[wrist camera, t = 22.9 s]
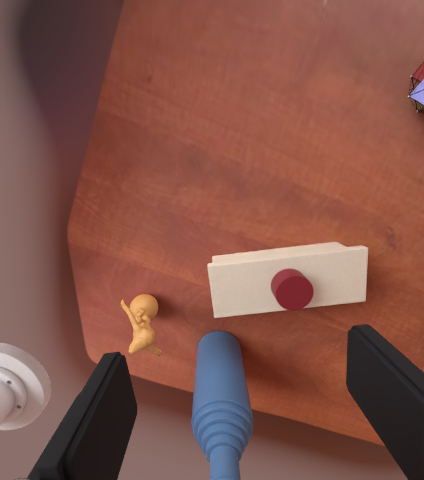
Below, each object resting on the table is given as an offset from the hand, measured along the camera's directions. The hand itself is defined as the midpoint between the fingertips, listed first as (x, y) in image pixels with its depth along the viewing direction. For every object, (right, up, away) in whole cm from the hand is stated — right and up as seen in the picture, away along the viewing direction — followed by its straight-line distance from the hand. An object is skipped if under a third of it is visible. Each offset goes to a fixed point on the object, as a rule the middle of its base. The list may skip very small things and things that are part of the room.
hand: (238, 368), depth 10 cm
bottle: (0, -13, +28) cm, 31 cm away
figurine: (-10, -4, +26) cm, 28 cm away
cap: (+8, -1, +17) cm, 19 cm away
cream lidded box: (+8, +1, +25) cm, 26 cm away
